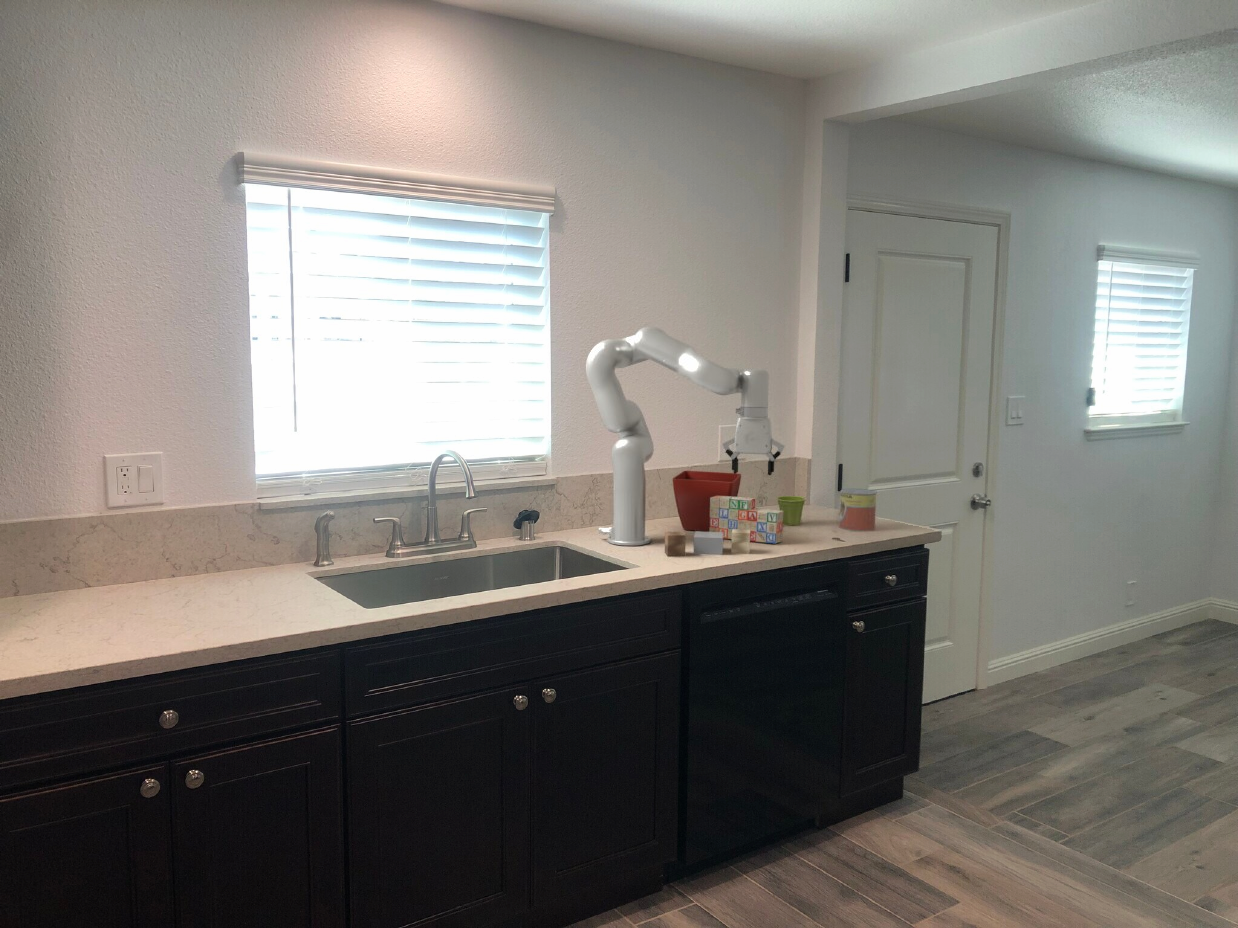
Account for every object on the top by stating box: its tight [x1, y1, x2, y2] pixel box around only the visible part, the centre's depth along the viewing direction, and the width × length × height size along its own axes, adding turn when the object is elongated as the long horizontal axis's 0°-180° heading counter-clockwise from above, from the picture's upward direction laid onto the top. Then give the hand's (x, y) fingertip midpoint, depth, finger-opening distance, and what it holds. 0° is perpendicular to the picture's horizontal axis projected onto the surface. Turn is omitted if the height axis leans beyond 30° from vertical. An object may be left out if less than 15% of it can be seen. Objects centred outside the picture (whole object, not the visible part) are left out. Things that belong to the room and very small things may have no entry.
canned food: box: [838, 488, 877, 533], centre depth 301 cm, size 11×11×12 cm
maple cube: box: [730, 529, 751, 555], centre depth 266 cm, size 5×5×6 cm
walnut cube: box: [664, 531, 687, 558], centre depth 262 cm, size 5×5×6 cm
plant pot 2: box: [776, 495, 807, 527], centre depth 307 cm, size 9×9×9 cm
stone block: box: [693, 530, 724, 556], centre depth 266 cm, size 8×8×5 cm
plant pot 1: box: [672, 470, 742, 532], centre depth 299 cm, size 19×19×17 cm
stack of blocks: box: [708, 496, 784, 544], centre depth 282 cm, size 21×6×12 cm, turn 62°
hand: (752, 473), depth 265 cm, fingers open, 9 cm apart
